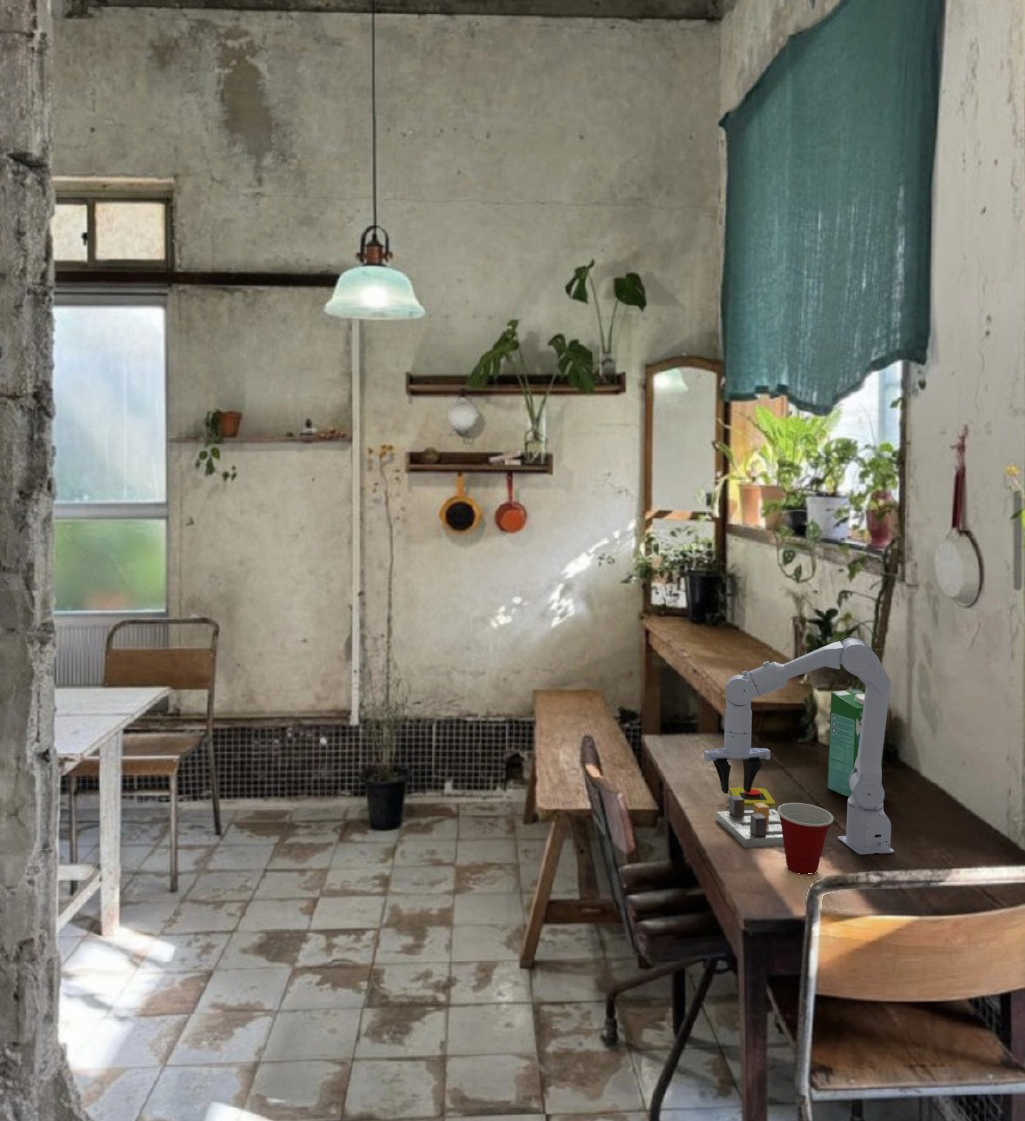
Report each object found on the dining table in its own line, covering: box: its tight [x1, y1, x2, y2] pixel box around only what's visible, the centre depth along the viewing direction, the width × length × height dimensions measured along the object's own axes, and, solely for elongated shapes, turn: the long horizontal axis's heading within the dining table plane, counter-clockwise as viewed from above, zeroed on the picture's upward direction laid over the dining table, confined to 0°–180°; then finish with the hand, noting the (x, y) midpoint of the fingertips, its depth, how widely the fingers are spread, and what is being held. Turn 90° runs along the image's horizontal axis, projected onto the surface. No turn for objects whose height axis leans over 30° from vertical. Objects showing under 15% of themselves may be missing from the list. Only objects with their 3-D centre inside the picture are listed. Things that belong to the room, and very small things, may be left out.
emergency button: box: [726, 787, 776, 811], centre depth 234 cm, size 9×4×15 cm
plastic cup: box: [776, 802, 834, 875], centre depth 195 cm, size 11×11×12 cm
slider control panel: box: [716, 796, 784, 849], centre depth 216 cm, size 17×14×6 cm
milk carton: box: [827, 688, 883, 798], centre depth 245 cm, size 9×9×25 cm
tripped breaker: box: [753, 803, 769, 824], centre depth 216 cm, size 3×2×4 cm
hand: (735, 791), depth 215 cm, fingers open, 4 cm apart
